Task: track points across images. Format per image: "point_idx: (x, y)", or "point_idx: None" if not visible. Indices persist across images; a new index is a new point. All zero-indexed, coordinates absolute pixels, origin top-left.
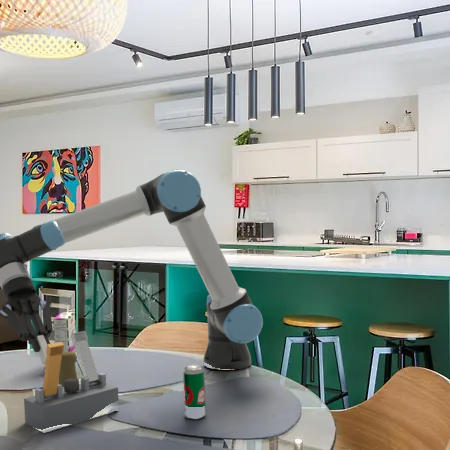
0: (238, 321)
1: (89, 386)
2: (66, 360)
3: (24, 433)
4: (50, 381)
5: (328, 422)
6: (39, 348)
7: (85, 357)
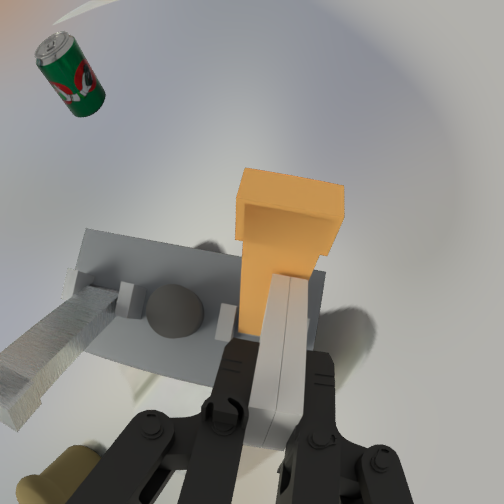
0: None
1: None
2: (52, 490)
3: (335, 327)
4: None
5: (75, 9)
6: (311, 351)
7: (59, 330)
